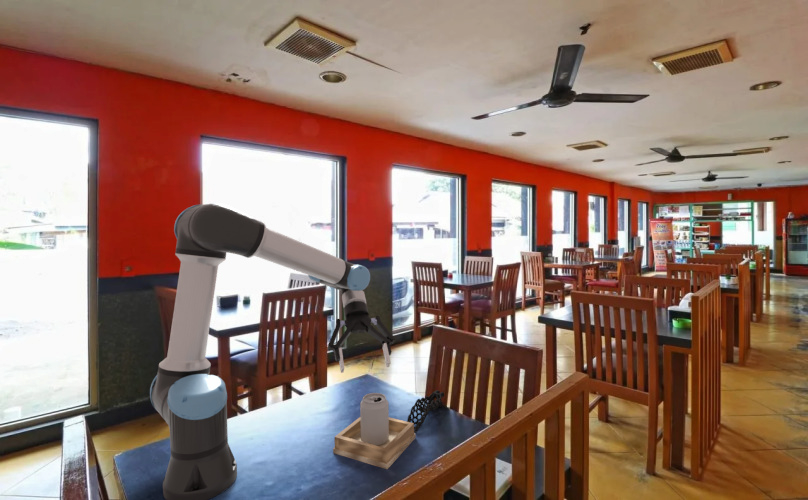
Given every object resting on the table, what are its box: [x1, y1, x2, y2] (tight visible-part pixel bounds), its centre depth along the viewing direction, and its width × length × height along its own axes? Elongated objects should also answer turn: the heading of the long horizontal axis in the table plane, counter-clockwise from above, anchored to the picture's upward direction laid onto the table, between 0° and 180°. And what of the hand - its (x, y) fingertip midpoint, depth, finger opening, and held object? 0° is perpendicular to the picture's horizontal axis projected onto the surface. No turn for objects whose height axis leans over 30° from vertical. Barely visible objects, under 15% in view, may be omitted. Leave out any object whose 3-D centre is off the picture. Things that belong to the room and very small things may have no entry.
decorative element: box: [406, 389, 445, 434], centre depth 124 cm, size 22×5×6 cm, turn 154°
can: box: [359, 392, 390, 446], centre depth 107 cm, size 8×8×12 cm
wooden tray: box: [332, 416, 416, 470], centre depth 107 cm, size 16×16×4 cm
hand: (366, 367), depth 116 cm, fingers open, 13 cm apart
